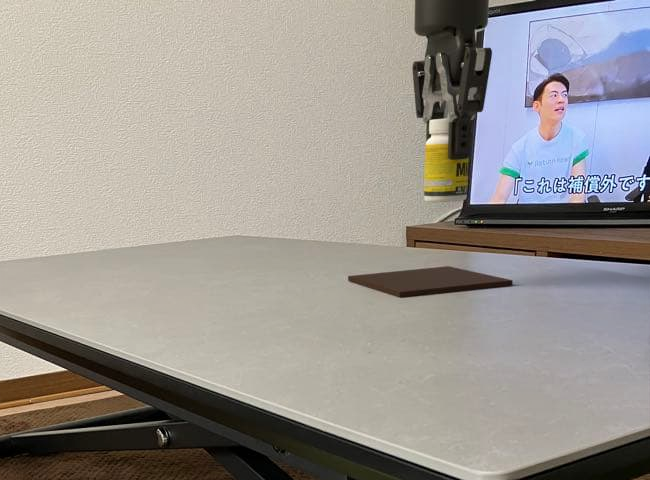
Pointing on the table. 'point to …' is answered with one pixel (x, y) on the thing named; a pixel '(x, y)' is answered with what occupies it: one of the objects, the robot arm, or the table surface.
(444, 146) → the supplement bottle
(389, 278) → the mat
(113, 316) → the table surface
